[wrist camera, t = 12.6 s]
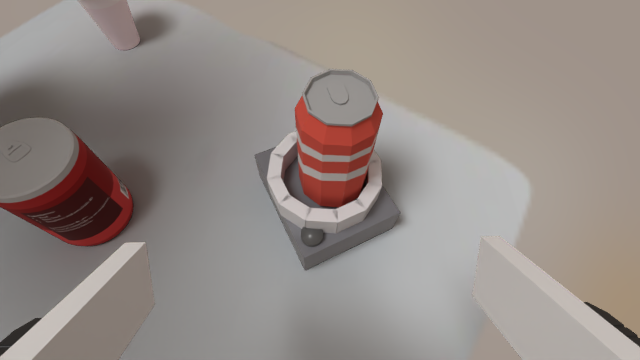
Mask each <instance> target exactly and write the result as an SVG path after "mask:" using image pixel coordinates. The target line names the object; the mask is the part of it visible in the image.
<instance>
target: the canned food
mask: <svg viewBox="0 0 640 360" xmlns="http://www.w3.org/2000/svg"><path fill="white" fill-rule="evenodd" d="M0 207H1V208H3V209H5V210H7V211H9V212H11V213H12V214H14V215H16V216H18V217H20V218H22V219H24V220H25V221H27V222H29V223H31V224H33V225H35V226H37V227H38V228H40V229H42V230H44V231H46V232H48V233H49V234H51V235H53V236H55V237H57V238H59V239H61V240H62V241H64V242H66V243H68V244H72V245H78V246H93V245H98V244H102V243H105V242H107V241H109V240H111V239H112V238H114V237H115V236H117V235H118V234H119V233H120V232H121V231H122V230H123V229H124V228H125V227H126V225H127V224H128V222H129V220H130V218H131V216H132V212H133V201H132V197H131V194H130V192H129V190H128V189H127V187H126V186H125V185H124V184H123V183H122V182H121V181H120V180H119V179H118V178H117V177H116V176H115V175H114V174H113V173H112V171H111V170H110V169H109V168H108V167H107V166H106V165H105V164H104V163H103V162H102V161H101V160H100V159H99V158H98V157H97V156H96V155H95V154H94V153H93V152H92V151H91V150H90V149H89V148H88V146H87V145H86V144H85V143H84V142H83V141H82V140H81V139H80V138H79V137H78V136H77V135H76V134H75V133H74V132H73V131H72V130H70V129H69V128H68V127H67V126H65V125H64V124H62V123H61V122H59V121H57V120H54V119H50V118H45V117H33V118H25V119H21V120H16V121H14V122H11V123H8V124H6V125H4V126H2V127H0Z"/></svg>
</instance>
